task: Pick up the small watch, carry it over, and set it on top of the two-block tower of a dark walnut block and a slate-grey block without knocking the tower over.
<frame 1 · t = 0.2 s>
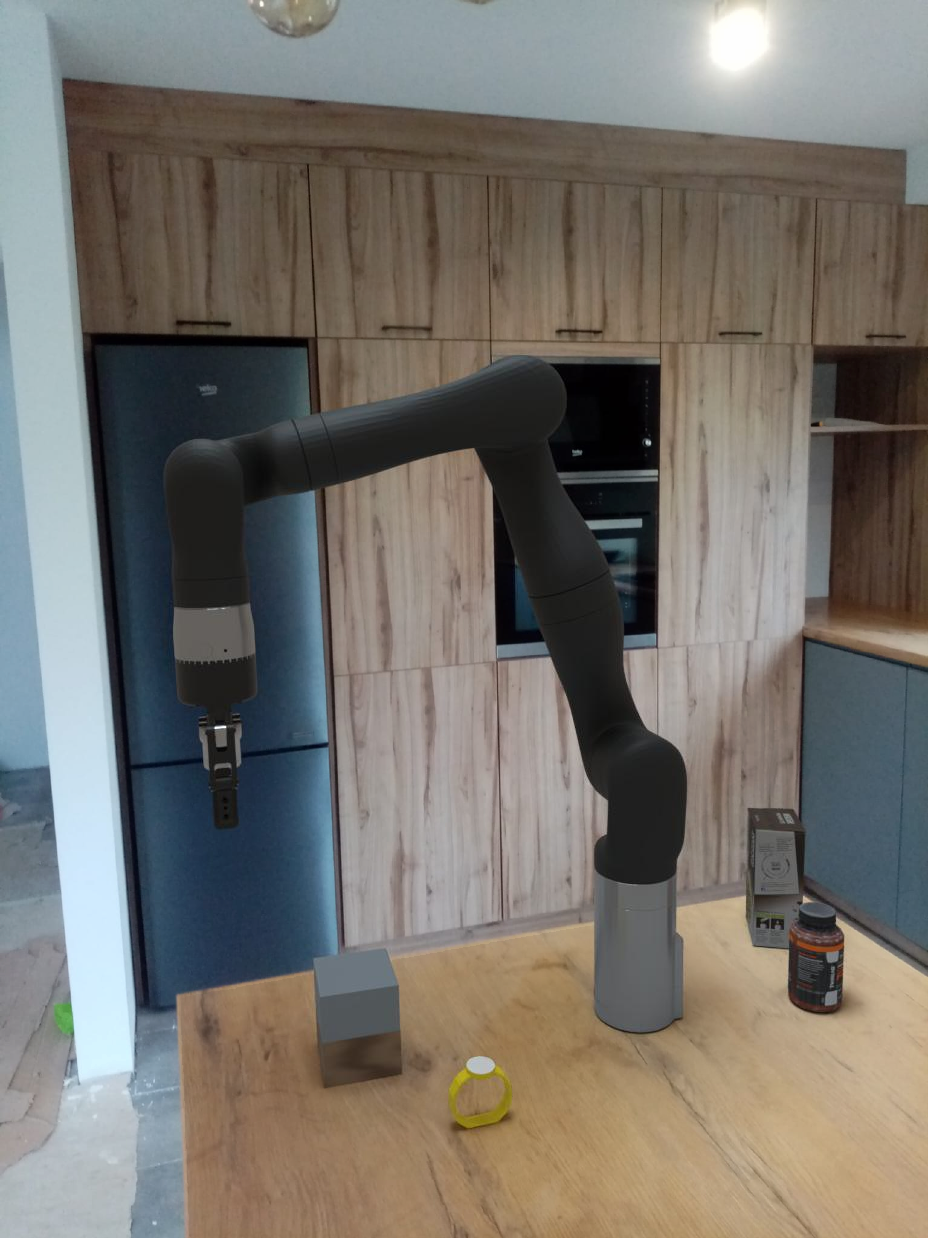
hand: (225, 813, 87), 29 cm above the countertop, tool pointing down, fingers open, 8 cm apart
walnut block: (358, 1060, 95), on the countertop, touching grey block
coffee box: (772, 933, 120), on the countertop
supplement bottle: (814, 1002, 104), on the countertop
watch: (481, 1123, 84), on the countertop
grey block: (356, 1015, 94), point 5 cm above the countertop, touching walnut block
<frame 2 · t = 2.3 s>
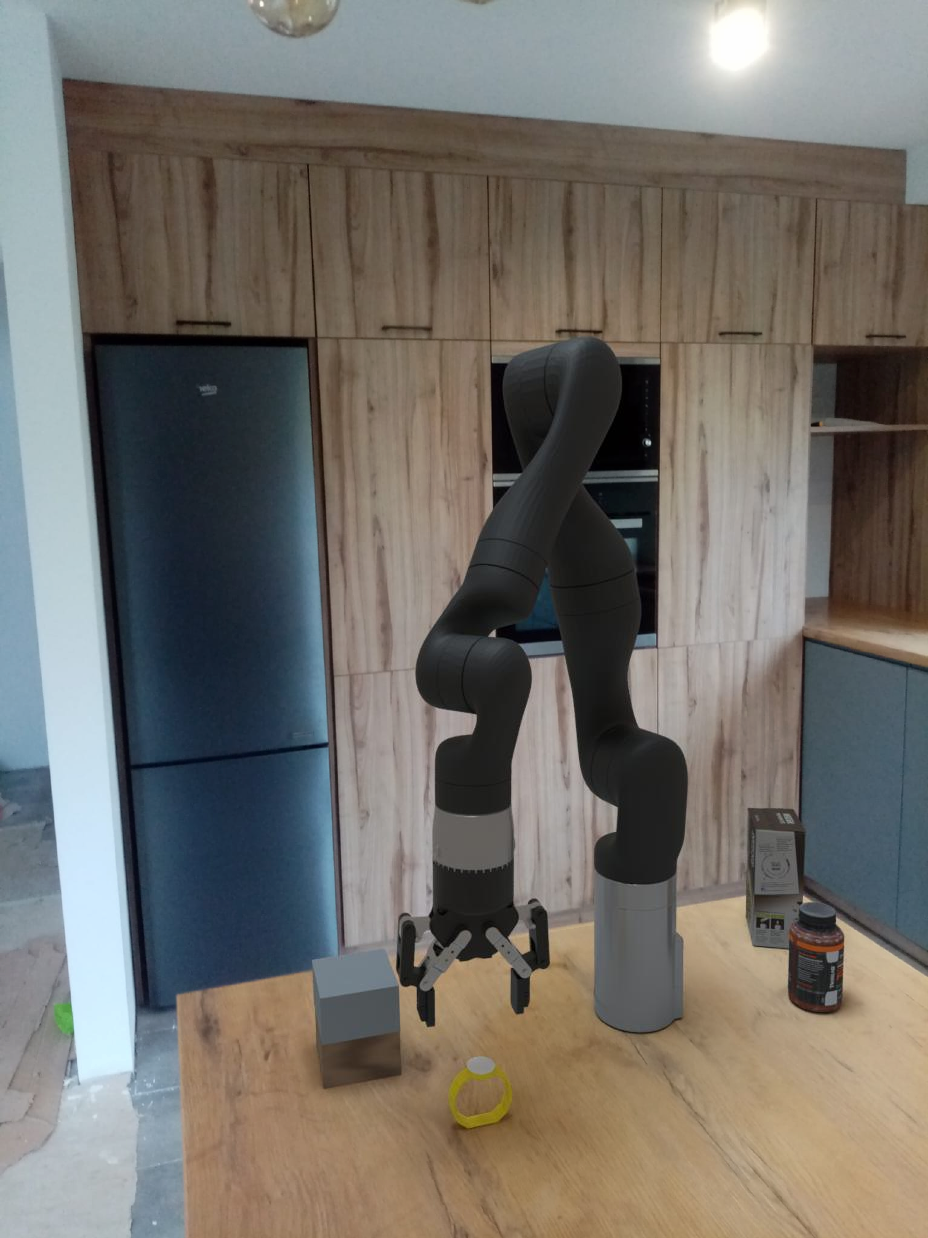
hand: (473, 1016, 83), 11 cm above the countertop, tool pointing down, fingers open, 8 cm apart
nothing on the countertop moved.
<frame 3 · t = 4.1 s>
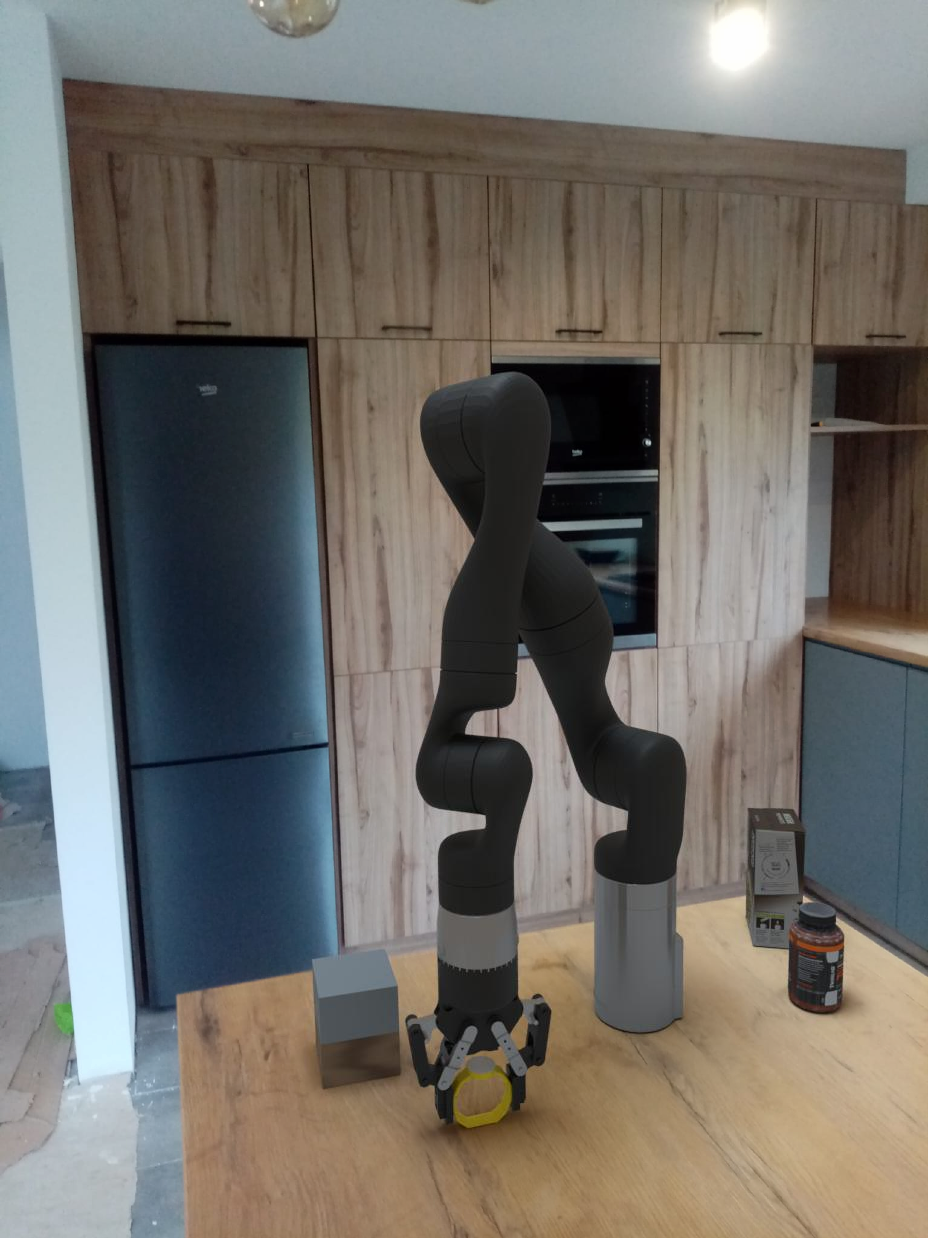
hand: (480, 1111, 84), 1 cm above the countertop, tool pointing down, fingers closed on watch, 6 cm apart
watch: (481, 1123, 84), on the countertop, touching gripper
everything else where it was.
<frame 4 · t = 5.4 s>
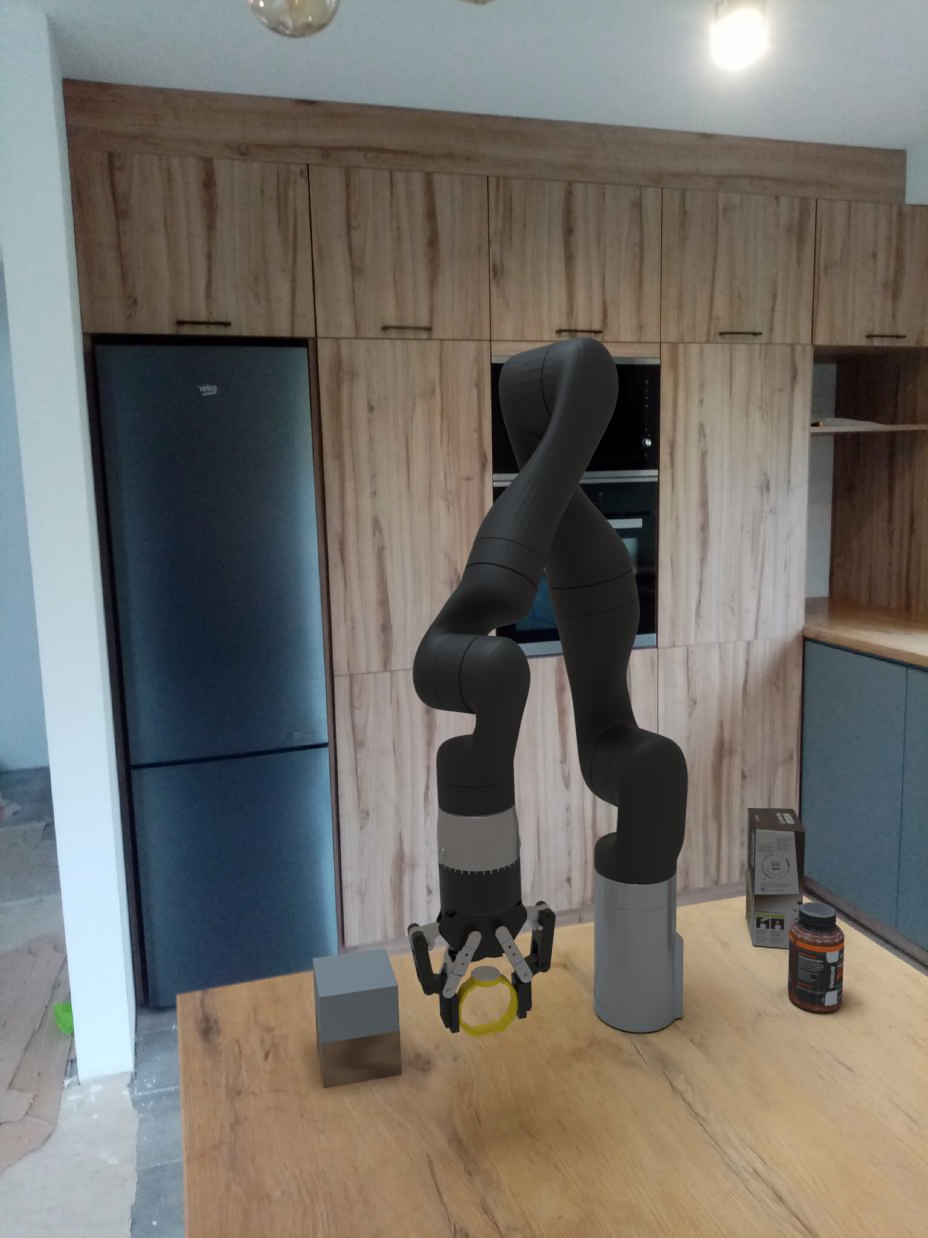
hand: (486, 1020, 83), 10 cm above the countertop, tool pointing down, fingers closed on watch, 6 cm apart
watch: (487, 1033, 83), point 9 cm above the countertop, touching gripper
everything else where it was.
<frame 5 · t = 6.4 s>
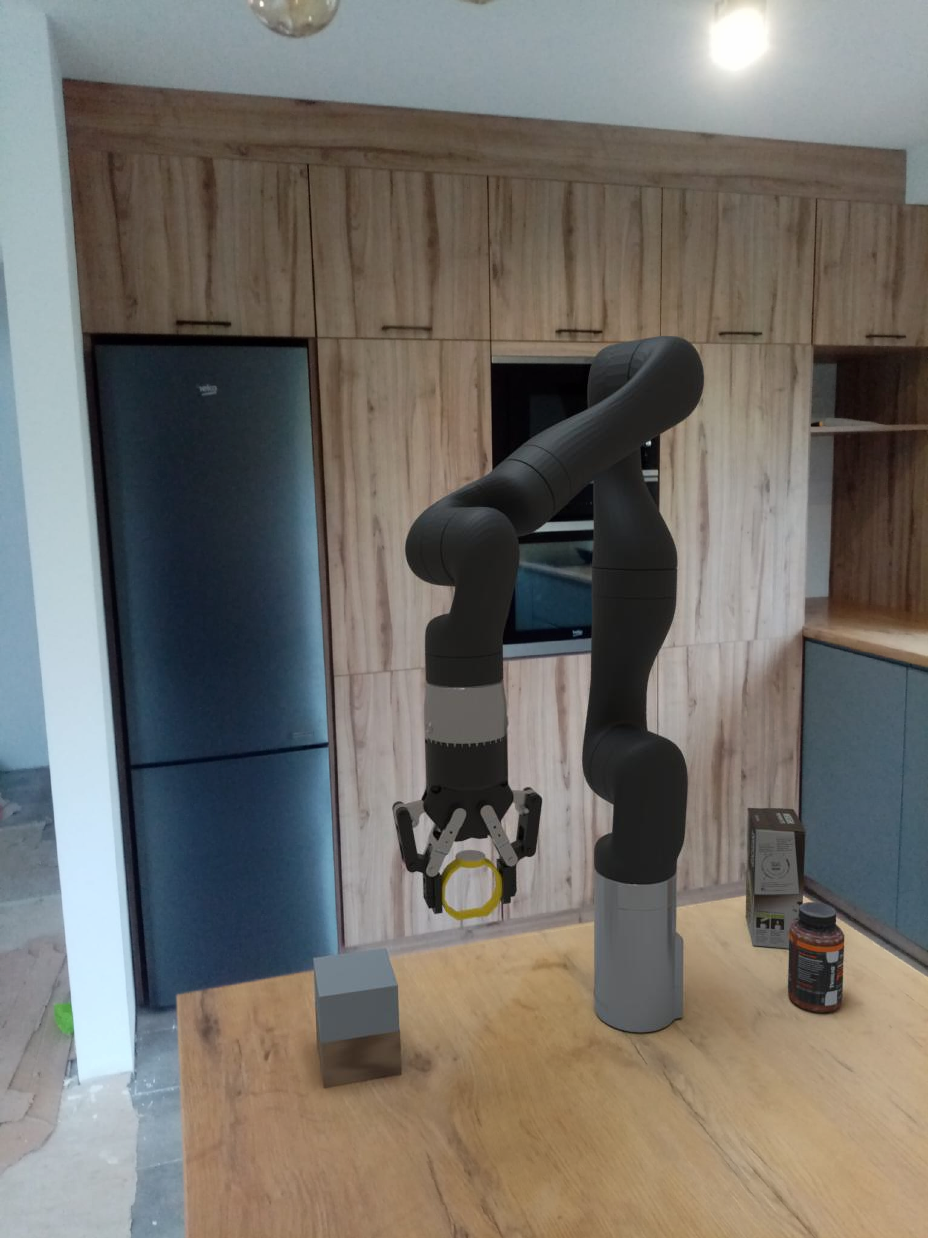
hand: (470, 904, 82), 21 cm above the countertop, tool pointing down, fingers closed on watch, 6 cm apart
watch: (471, 917, 82), point 20 cm above the countertop, touching gripper
everything else where it was.
when the fingers open (12 cm above the countertop, at t = 9.3 s): watch drops 1 cm, resting on grey block.
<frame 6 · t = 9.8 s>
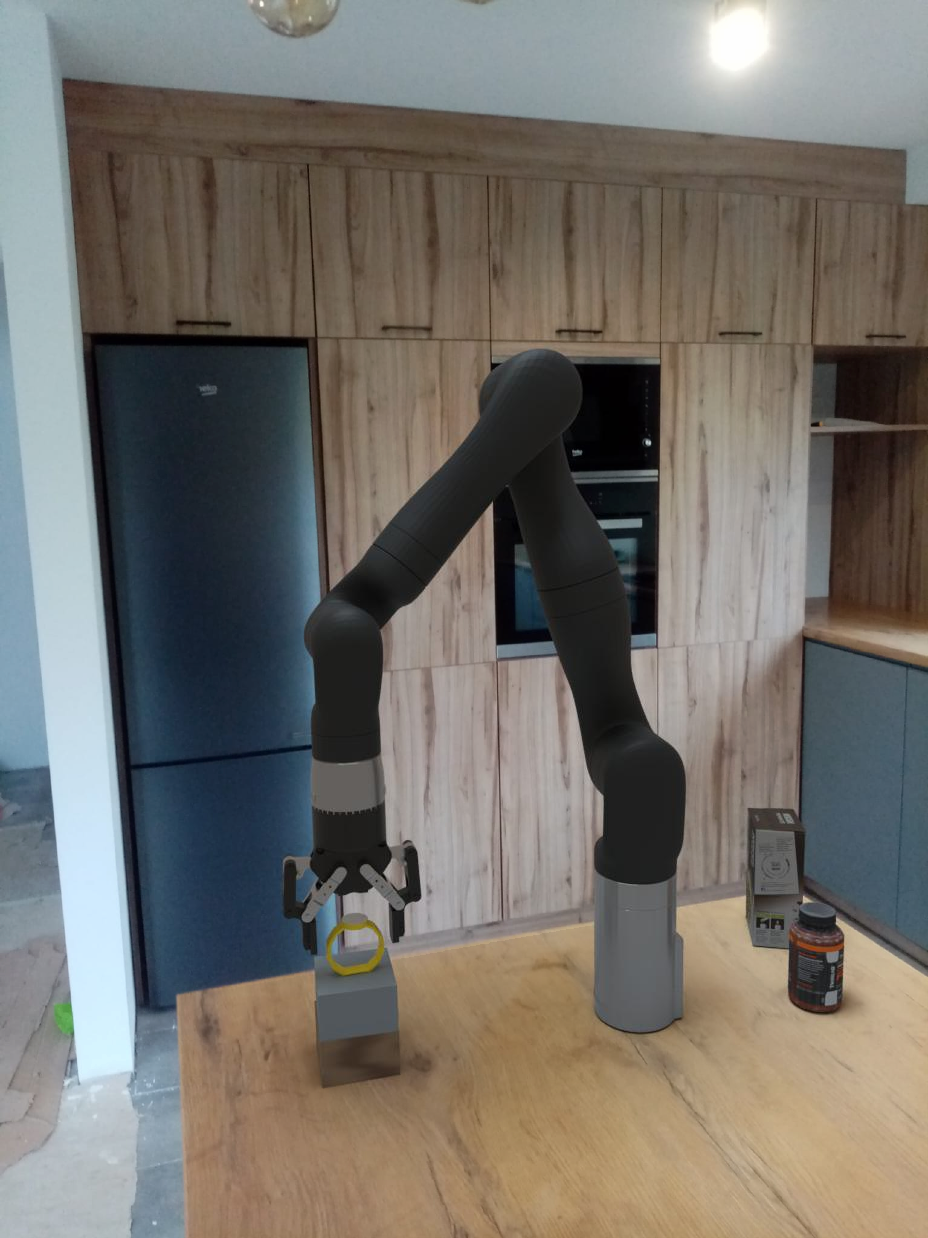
hand: (354, 945, 93), 13 cm above the countertop, tool pointing down, fingers open, 8 cm apart
watch: (356, 973, 93), point 10 cm above the countertop, touching grey block
grey block: (355, 1015, 94), point 5 cm above the countertop, touching watch, walnut block
everything else where it was.
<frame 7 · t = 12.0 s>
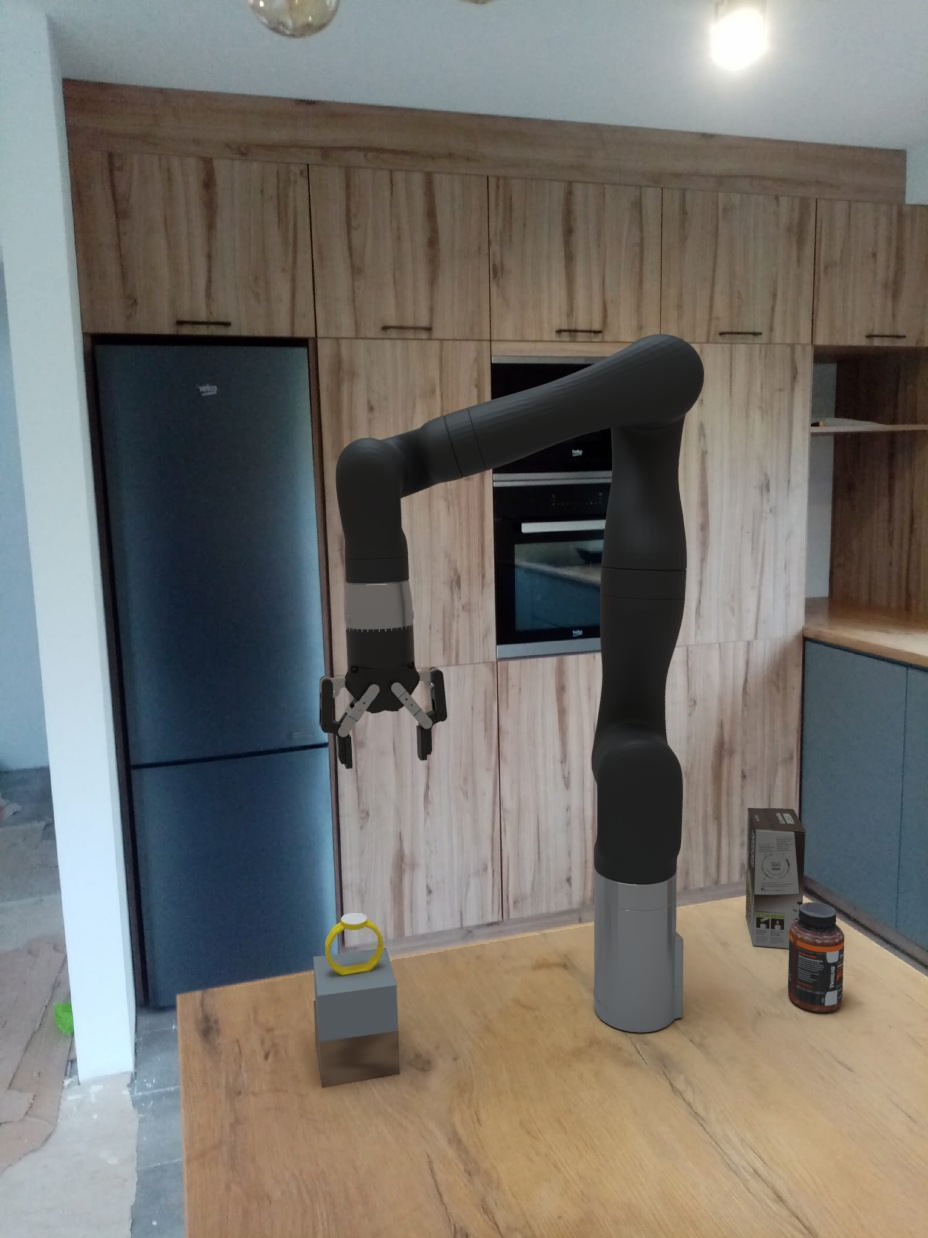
hand: (385, 763, 101), 29 cm above the countertop, tool pointing down, fingers open, 8 cm apart
nothing on the countertop moved.
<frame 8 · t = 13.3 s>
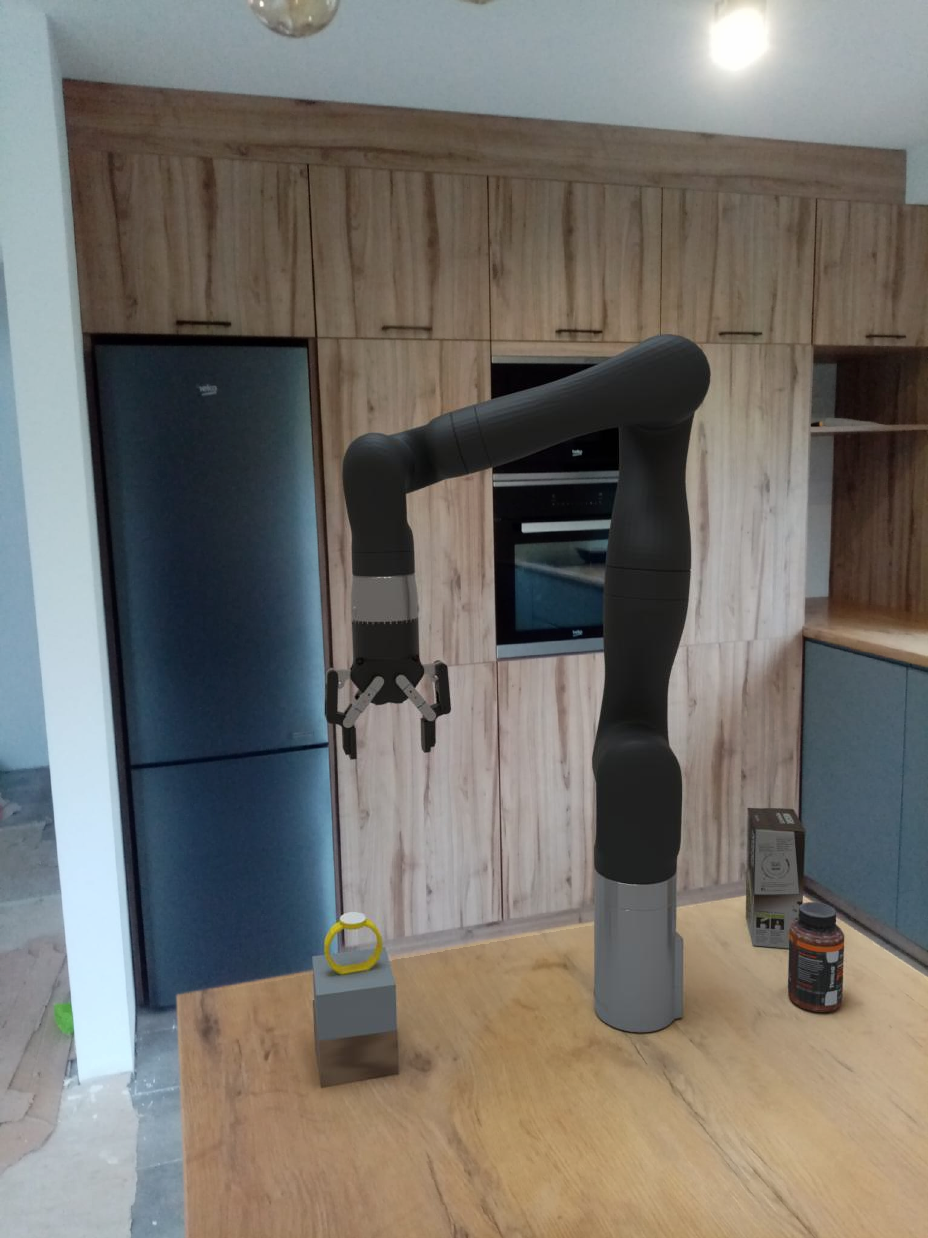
hand: (389, 754, 102), 30 cm above the countertop, tool pointing down, fingers open, 8 cm apart
nothing on the countertop moved.
at the end: watch 0.2 cm off-centre on the grey block, point 4.8 cm above the grey block's base; grey block point 4.9 cm above the countertop; the gripper is holding nothing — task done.
